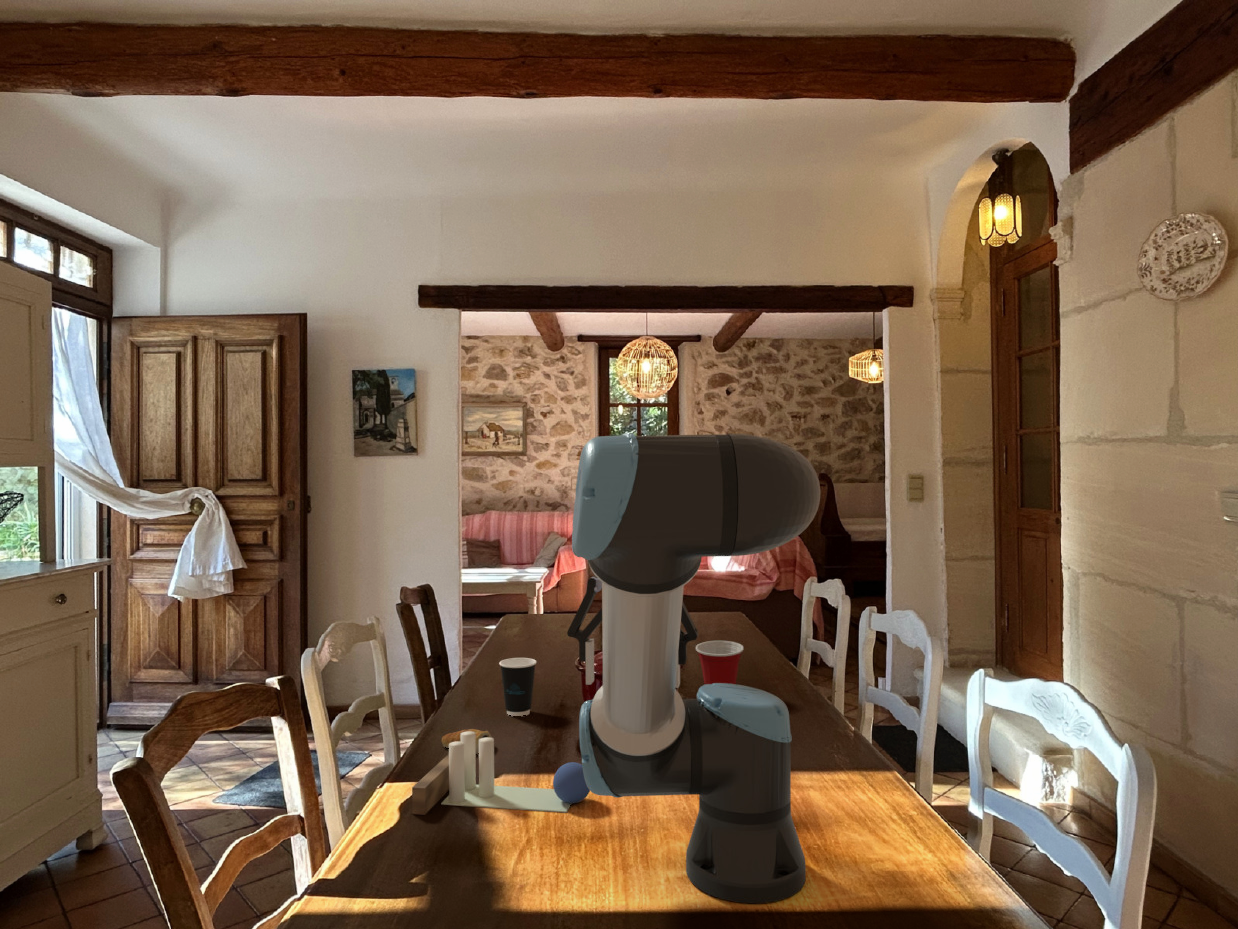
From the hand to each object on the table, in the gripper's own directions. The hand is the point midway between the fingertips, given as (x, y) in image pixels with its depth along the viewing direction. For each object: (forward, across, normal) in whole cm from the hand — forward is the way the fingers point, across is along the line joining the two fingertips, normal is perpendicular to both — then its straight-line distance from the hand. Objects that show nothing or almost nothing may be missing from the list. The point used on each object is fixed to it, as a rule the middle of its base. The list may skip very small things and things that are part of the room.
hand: (632, 684), depth 126 cm
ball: (+16, +10, 0) cm, 18 cm away
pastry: (+19, +35, -20) cm, 45 cm away
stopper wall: (+18, +32, 0) cm, 37 cm away
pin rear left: (+18, +28, -2) cm, 33 cm away
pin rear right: (+18, +28, +3) cm, 33 cm away
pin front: (+18, +24, 0) cm, 30 cm away
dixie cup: (+18, +32, -43) cm, 57 cm away
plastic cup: (+18, -10, -60) cm, 64 cm away
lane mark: (+18, +20, 0) cm, 27 cm away
